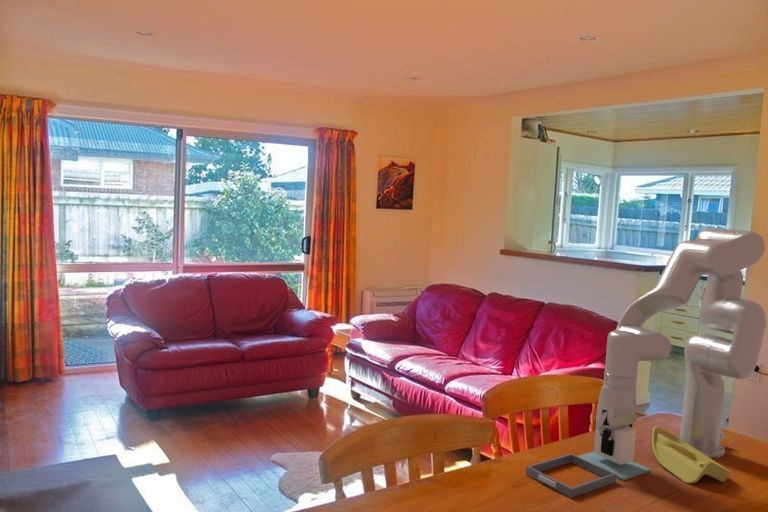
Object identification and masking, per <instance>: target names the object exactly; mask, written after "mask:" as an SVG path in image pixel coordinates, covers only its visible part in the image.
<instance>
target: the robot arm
mask: <svg viewBox="0 0 768 512" xmlns="http://www.w3.org/2000/svg"><path fill="white" fill-rule="evenodd" d="M765 249H766V243H765V240H764V238H763V237H762V236H761V234H759V233H758V232H756V231H751V230H741V229H740V230H739V229H729V228H717V227H716V228H714V227H713V228H706V229H702V230H701V231H699V232H698V234H697V235H696V238H695V240H683V241H681V242H679V243H678V244H677V245H676V246H675V248H674V249H673V250H672V254H671V255H670V257H669V259H668V261H667V263H666V265H665V267H664V268H663V271H662V273H661V274H660V276H659V278H658V280H657V282H656V284H655V286H654V287H653V288H652V289H651V290H649V291H648V292H646V293H645V294H643V295H641V296H640V297H639V298H637V299H636V300H635V301H634V302H632V303H631V304H630V305H629V306H628V307H627V308H626V310H625V311H624V312H623V314H622V315H621V317H620V319H619V322H618V324H617V326H616V328H615V330H612V331H610V332H609V333H608V335H607V338H606V339H607V340H606V350H605V351H606V354H605V361H604V362H605V363H604V374H603V375H604V376H603V385H602V386H601V388H600V391H599V392H600V393H599V397H598V402H597V407H596V416H595V424H596V423H598V424H597V426H596V425H595V430H596V429H597V430H598V431H599V433H600V434H601V435H600V436H601V437H602V441H601V452H602V453H604V454H607V455H609V456H613V449H614V440H612V439H613V436H614V431H615V428H619V427H623V426H628V427H631V428H633V425H634V424H635V422H636V420H637V418H636V411H637V380H638V370H639V362H648V363H657V362H662V361H664V360H665V359H667V358H668V357H669V356H670V354H671V351H672V343H671V341H670V340H669V338H668V337H667V336H666V335H665V334H663V333H660V332H659V331H656V330H655V331H654V330H650V329H648V328H644V327H642V326H644V324H645V323H646V321H648V320H649V319H650V318H651V317H653V316H654V315H656V314H659V313H661V312H664V311H668V310H673V309H677V308H679V307H683V306H685V305H686V304H687V303H689V301H690V299H691V297H692V295H693V293H694V291H695V289H696V287H697V284H698V283H699V281H700V280H701V277H702V276H707V280H706V285H705V289H704V292H703V293H704V294H703V297H702V302H701V305H700V311H699V321H700V323H701V325H702V326H704V327H705V328H707V329H709V330H713V331H716V332H720V333H723V334H729V335H732V339H730V338H726V337H723V336H719V335H714V334H711V333H710V334H709V333H696V334H693V335H691V336H690V337H689V338H688V339H687V340H686V342H685V345H684V363H685V382H684V383H685V384H684V393H683V403H682V411H681V412H682V413H681V423H680V433H679V436H677V437H678V438H679V439H681V440H683V441H684V442H686V443H687V444H689V445H691V446H692V447H694V448H695V449H697V450H698V451H700V452H701V453H703V454H704V455H706V456H708V457H709V458H711V459H717V458H719V459H720V458H722V457H724V456H725V454H726V450H725V448H724V447H723V446H722V445H720V440H722V439H724V438H725V437H726V433H725V432H724V431H722V430H721V428H722V420H723V418H722V417H723V409H724V400H725V393H726V392H725V390H726V389H725V383H724V380H723V377H722V376H725V377H728V378H731V379H735V380H745V379H746V380H747V378H750V376H751V375H753V373H754V372H755V370H756V369H755V368H756V366H757V363H758V360H759V356H760V351H761V347H762V342H763V340H764V335H765V332H766V331H765V330H766V326H767V316H766V312H765V310H764V308H763V306H761V304H759V303H757V302H755V301H753V300H748V299H744V298H742V297H741V296H742V291H743V287H744V286H743V285H744V277H743V276H744V275H743V272H742V270H743V269H746V268H749V267H751V266H753V265H755V264H756V263H758V262H759V261H760V260H761V259H762V257H763V256H764V253H765V252H766V251H765ZM607 424H609V426H608V425H607ZM607 428H608V429H610V432H609V433H608V431H607Z"/></svg>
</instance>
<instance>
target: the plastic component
mask: <svg viewBox="0 0 768 512" xmlns="http://www.w3.org/2000/svg"><path fill="white" fill-rule="evenodd" d="M678 437H679V436H675V435H674V434H673V433H671V432H669V431H667V430H665V429H663V428H662V427H659V426H658V425H655V426H654V427H653V428H652V432H651V447H652V450H653V453H654V454H653V455H654V456H655V458H656V460H657V461H658V462H659V463H660V465H661V466H662V467H664V468H665V469H666V470H667V471H669V472H670V473H672V474H674V476H676V477H677V478H679V479H680V480H681V481H682V482H684V483H685V484H689V485H690V484H695V483H697V482H699V480H700V479H701V478H702V477H703V476H704V475H707V476H709V477H711V478H713V479H715V480H717V481H719V482H721V483H724V482H726V481H727V479H728V478H729V475H730V474H731V470H729V469H728V468H726V467H725V466H723V465H721V464H720V463H718V462H717V461H715V460H714V459H713V458H709V457H708V456H706V455H704V454H703V453H701V452H700V451H698V450H697V449H695V448H694V447H692V446H691V445H689V444H687V443H686V442H684V441H683V440H681V439H679V438H678Z"/></svg>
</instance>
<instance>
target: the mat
mask: <svg viewBox="0 0 768 512" xmlns="http://www.w3.org/2000/svg"><path fill="white" fill-rule="evenodd" d="M577 456H578V457H580V458H582V459H584V460H587V461H589V462H591V463H593V464H596V465H598V466H600V467H602V468H604V469H607V470H609V471H611V472H613V473H616V474H617V476H616V479H619V480H621V481H627V480H629V479H632V478H633V479H634V478H636V477H637V476H638V477H639V476H642V475H643V474H646V473H649V472H651V471H652V469H651V468H649V467H646V466H644V465H641V464H639V463H637V462H634V461H631V462H628V463H625V464H622V465H620V464H618V463H616V462H614V461H611V460H609V459H607V458H604V457H602V456H600V455H597V454H595V453H594V451H591V452H587V453H584V454H581V455H577Z"/></svg>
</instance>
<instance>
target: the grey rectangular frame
mask: <svg viewBox="0 0 768 512" xmlns="http://www.w3.org/2000/svg"><path fill="white" fill-rule="evenodd" d="M578 456H579V455H576V454H574V453H569V454H565V455H561V456H558V457H554V458H551V459H548V460H544V461H540V462H537V463H533V464H531V465H530V464H529V465H527V466H526V467H525V475H526V476H528V477H530V478H532V479H534V480H535V481H538V482H540V483H541V484H544V485H545V486H547V487H549V488H550V489H552V490H555V491H557V492H559V493H561V494H563V495H564V496H566V497H568V498H570V499H572V498H575V497H577V496H580V495H584V494H586V493H590V492H592V491H596V490H597V489H600V488H603V487H607V486H609V485H612V484H614V483H617V477H616V476H617V474H616V473H613V472H611V471H609V470H607V469H604V468H602V467H600V466H598V465H596V464H593V463H591V462H589V461H587V460H584V459H582V458H580V457H578ZM570 463H571V464H574V466H577V467H580V468H582V469H583V470H586V471H588V472H590V473H592V474H595V475H597V476H599V478H595V479H592V480H590V481H587V482H584V483H580V484H578V485H575V486H572V487H571V486H569V485H567V484H566V483H563V482H561V481H560V480H557V479H555V478H553V477H551V476H549V475H547V474H545V473H543V472H544V471H547V470H551V469H554V468H557V467H560V466H564V465H567V464H570Z"/></svg>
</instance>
